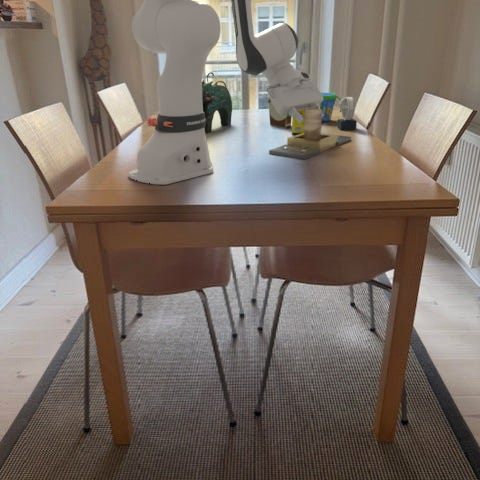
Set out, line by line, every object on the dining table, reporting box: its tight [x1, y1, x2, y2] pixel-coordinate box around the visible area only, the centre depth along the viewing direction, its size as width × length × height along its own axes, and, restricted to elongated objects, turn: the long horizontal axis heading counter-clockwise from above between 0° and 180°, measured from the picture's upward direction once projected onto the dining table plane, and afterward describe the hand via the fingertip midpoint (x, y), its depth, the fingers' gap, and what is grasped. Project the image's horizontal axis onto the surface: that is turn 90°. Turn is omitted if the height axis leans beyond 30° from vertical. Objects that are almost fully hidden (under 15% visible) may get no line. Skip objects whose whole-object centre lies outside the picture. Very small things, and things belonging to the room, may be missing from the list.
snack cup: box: [311, 92, 342, 123], centre depth 174 cm, size 16×10×10 cm
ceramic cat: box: [202, 72, 233, 134], centre depth 163 cm, size 20×6×20 cm, turn 150°
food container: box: [267, 97, 292, 129], centre depth 167 cm, size 12×6×10 cm, turn 34°
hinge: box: [268, 132, 352, 160], centre depth 137 cm, size 29×12×3 cm, turn 142°
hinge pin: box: [304, 109, 322, 141], centre depth 135 cm, size 5×5×11 cm
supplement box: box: [291, 108, 311, 136], centre depth 153 cm, size 6×6×11 cm
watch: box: [337, 96, 358, 131], centre depth 159 cm, size 6×8×11 cm
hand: (311, 119), depth 134 cm, fingers open, 8 cm apart
